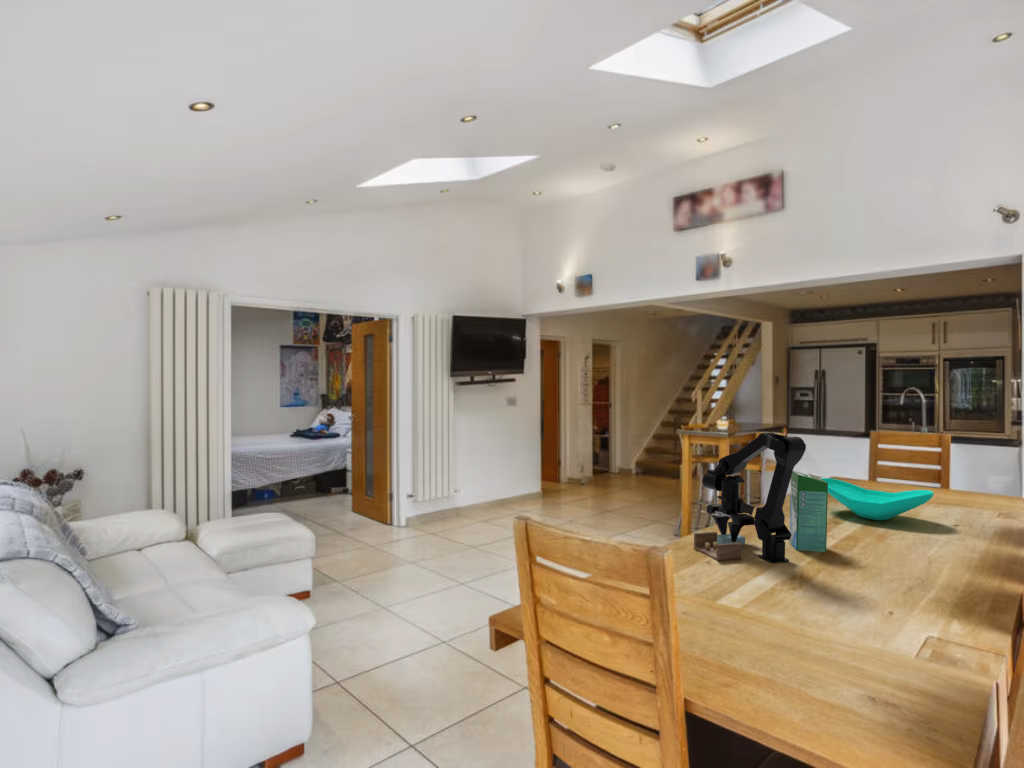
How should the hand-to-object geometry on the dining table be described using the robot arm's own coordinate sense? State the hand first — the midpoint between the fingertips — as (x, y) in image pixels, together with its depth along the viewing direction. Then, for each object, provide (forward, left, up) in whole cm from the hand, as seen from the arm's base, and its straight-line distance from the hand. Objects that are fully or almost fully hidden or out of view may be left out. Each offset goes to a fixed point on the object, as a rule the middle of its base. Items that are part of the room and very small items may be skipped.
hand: (729, 539), depth 197 cm
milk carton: (-10, -23, -2) cm, 25 cm away
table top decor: (+16, -79, -1) cm, 81 cm away
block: (0, 0, -1) cm, 1 cm away
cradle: (-9, +11, -1) cm, 14 cm away
